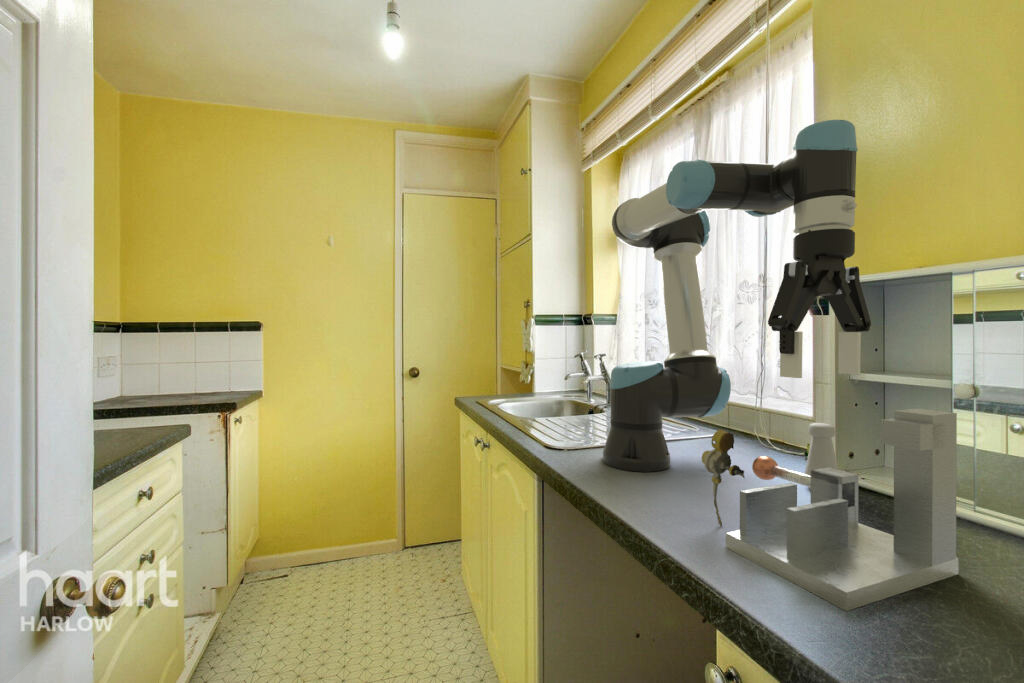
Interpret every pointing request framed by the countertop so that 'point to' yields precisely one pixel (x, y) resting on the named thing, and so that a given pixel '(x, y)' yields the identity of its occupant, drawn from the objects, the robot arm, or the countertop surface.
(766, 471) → the lever
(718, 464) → the regulator
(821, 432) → the salt shaker
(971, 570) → the countertop surface
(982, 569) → the countertop surface
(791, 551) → the press
